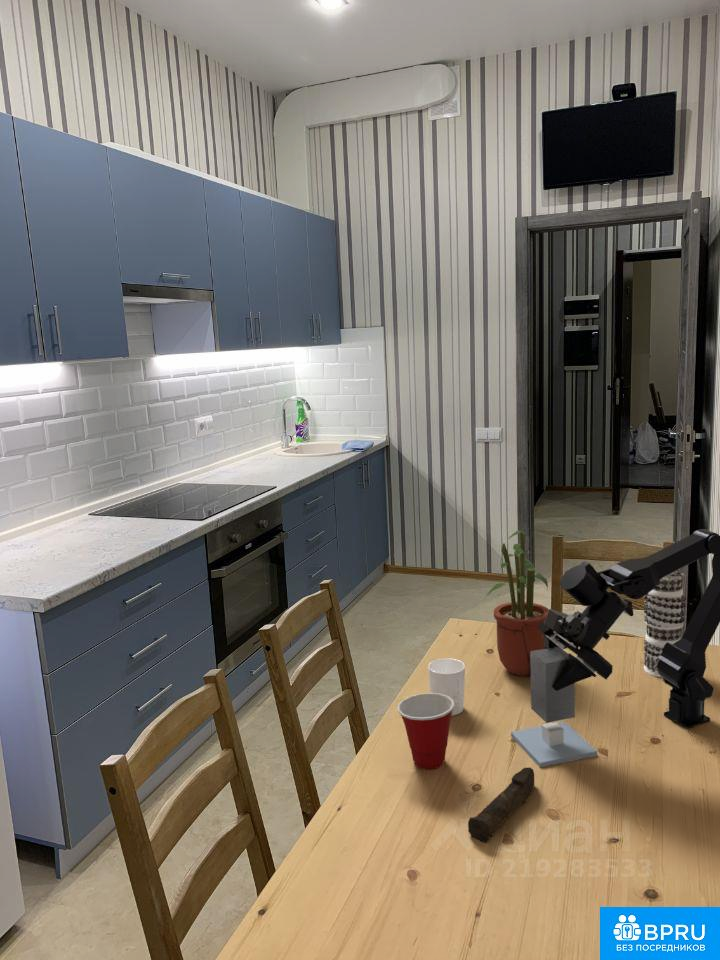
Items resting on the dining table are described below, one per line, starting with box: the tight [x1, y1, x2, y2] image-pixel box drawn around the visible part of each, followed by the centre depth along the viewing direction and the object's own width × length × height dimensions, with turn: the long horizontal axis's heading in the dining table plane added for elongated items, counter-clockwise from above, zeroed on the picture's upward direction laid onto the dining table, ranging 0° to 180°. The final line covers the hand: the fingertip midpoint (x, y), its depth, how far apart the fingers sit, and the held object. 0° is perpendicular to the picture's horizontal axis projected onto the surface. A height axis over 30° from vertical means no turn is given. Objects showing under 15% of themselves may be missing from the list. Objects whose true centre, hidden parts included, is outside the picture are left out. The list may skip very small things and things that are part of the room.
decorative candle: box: [642, 569, 687, 679], centre depth 175 cm, size 9×9×25 cm
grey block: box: [530, 647, 576, 724], centre depth 145 cm, size 6×6×12 cm
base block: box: [510, 721, 598, 768], centre depth 147 cm, size 12×12×4 cm
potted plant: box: [482, 530, 550, 676], centre depth 180 cm, size 17×16×35 cm
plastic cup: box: [397, 692, 454, 771], centre depth 143 cm, size 11×11×12 cm
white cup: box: [427, 657, 466, 717], centre depth 163 cm, size 8×8×10 cm
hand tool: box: [467, 767, 535, 843], centre depth 127 cm, size 19×4×5 cm, turn 137°
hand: (546, 682), depth 145 cm, fingers closed on grey block, 6 cm apart
